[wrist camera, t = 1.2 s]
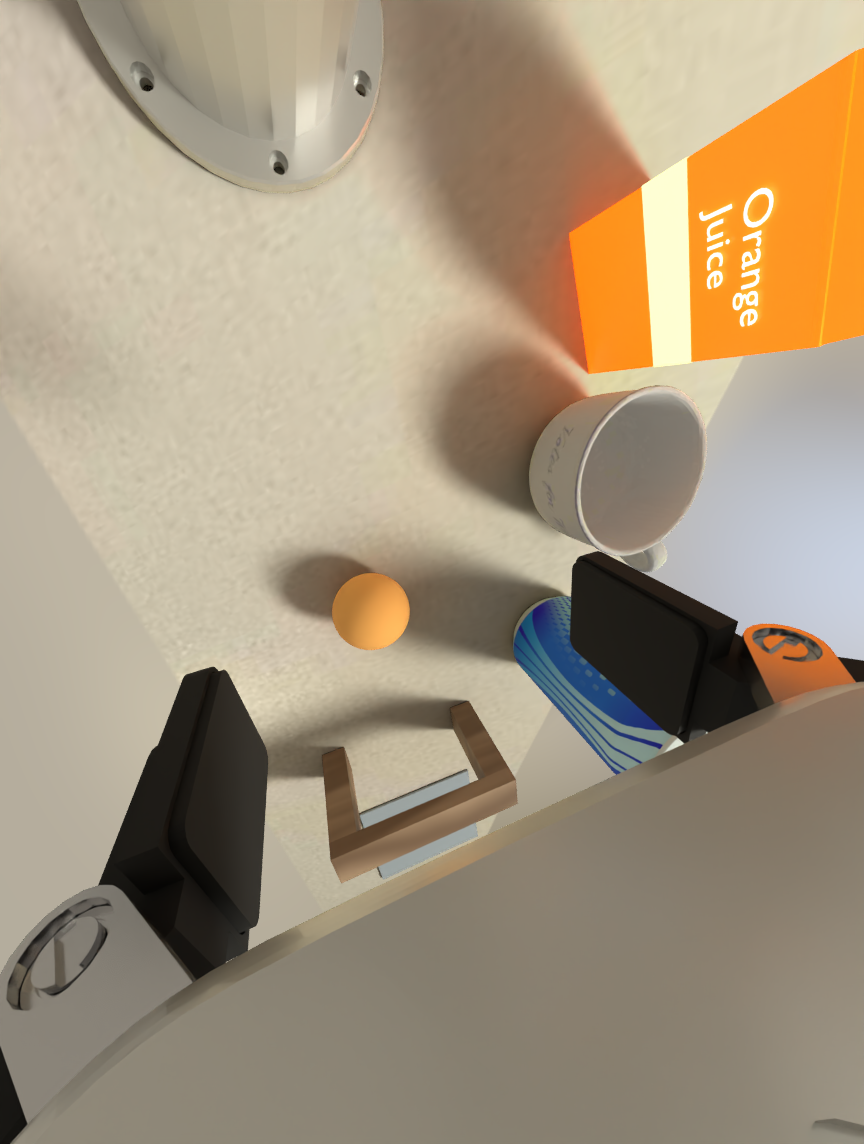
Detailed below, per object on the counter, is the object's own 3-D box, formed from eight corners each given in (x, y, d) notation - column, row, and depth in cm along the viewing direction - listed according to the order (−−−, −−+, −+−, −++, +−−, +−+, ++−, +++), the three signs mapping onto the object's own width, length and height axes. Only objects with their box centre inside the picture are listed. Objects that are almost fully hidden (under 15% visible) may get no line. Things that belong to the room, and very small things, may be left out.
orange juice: (587, 375, 29) (1032, 325, 12) (566, 232, 25) (1215, -186, 7) (670, 337, 30) (1195, 237, 13) (663, 193, 26) (1437, -257, 8)
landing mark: (359, 814, 39) (359, 815, 39) (467, 769, 42) (467, 770, 41) (382, 877, 44) (383, 879, 44) (477, 834, 47) (477, 836, 47)
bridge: (322, 755, 35) (330, 860, 26) (468, 700, 38) (515, 779, 30) (330, 777, 36) (341, 883, 28) (471, 722, 39) (517, 803, 31)
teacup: (498, 418, 28) (566, 421, 21) (620, 371, 30) (721, 359, 23) (531, 575, 35) (591, 618, 28) (629, 529, 36) (710, 558, 29)
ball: (320, 572, 28) (326, 606, 23) (392, 554, 29) (411, 582, 25) (339, 634, 30) (347, 676, 26) (404, 614, 32) (424, 651, 27)
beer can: (501, 671, 38) (623, 825, 24) (511, 594, 35) (659, 720, 21) (572, 658, 40) (719, 790, 26) (588, 586, 37) (764, 692, 23)
